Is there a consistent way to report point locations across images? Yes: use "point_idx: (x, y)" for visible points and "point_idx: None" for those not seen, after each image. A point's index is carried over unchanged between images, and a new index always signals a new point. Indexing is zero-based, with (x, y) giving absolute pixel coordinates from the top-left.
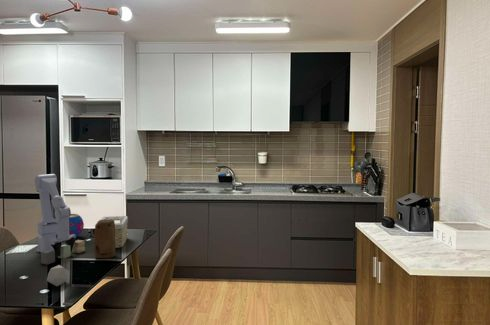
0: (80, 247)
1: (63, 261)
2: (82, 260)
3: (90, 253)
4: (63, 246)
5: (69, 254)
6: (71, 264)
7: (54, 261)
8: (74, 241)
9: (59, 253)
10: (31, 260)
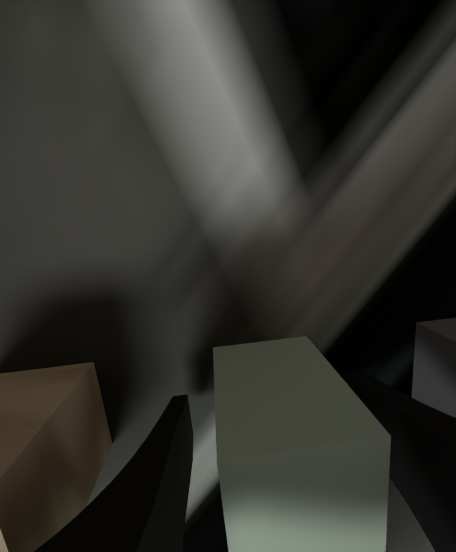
0: (17, 410)
1: (381, 248)
2: (265, 49)
3: (10, 216)
4: (334, 496)
5: (229, 357)
6: (435, 49)
7: (427, 323)
8: (74, 542)
9: (388, 388)
10: None
